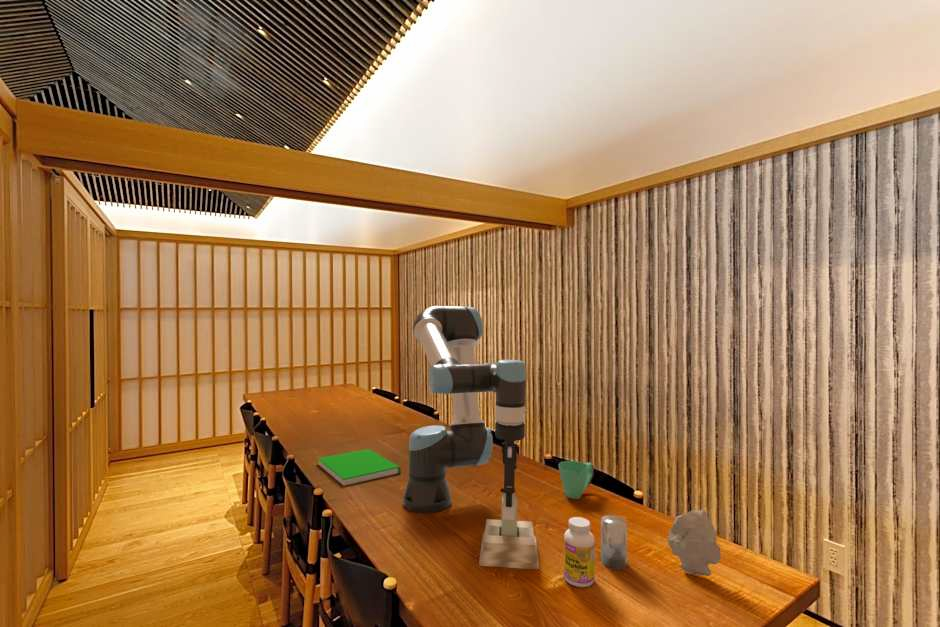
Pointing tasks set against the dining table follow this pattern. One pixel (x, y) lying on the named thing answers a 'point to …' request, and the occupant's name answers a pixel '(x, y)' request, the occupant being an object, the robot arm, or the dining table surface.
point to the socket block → (509, 546)
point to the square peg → (510, 523)
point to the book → (358, 466)
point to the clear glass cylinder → (614, 542)
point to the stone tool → (694, 542)
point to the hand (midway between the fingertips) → (508, 506)
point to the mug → (575, 477)
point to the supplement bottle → (579, 553)
